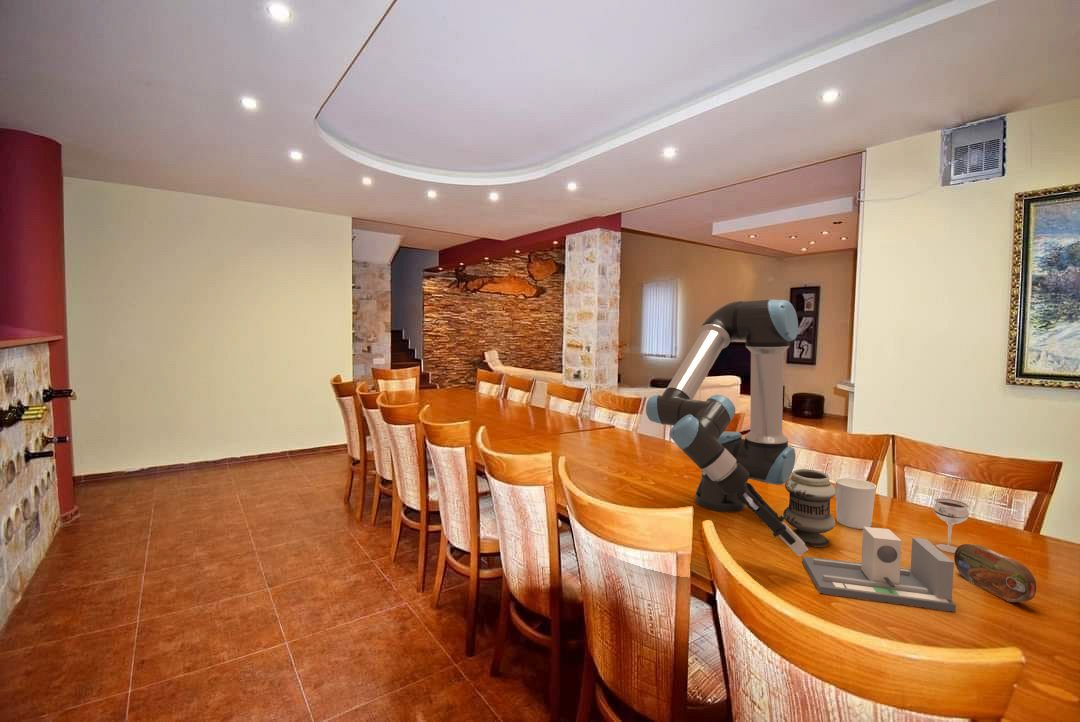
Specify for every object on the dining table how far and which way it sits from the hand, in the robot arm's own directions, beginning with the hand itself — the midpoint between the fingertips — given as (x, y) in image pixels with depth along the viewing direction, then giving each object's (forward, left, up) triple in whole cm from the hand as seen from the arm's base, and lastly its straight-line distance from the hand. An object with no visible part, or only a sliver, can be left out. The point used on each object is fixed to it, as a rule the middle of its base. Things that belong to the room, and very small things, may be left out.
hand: (801, 549), depth 106 cm
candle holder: (+1, +43, -6) cm, 43 cm away
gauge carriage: (+14, +6, -4) cm, 16 cm away
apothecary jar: (-5, +22, -6) cm, 23 cm away
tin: (+31, +23, -6) cm, 39 cm away
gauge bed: (+12, +7, -6) cm, 15 cm away
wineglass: (+22, +42, -6) cm, 48 cm away
